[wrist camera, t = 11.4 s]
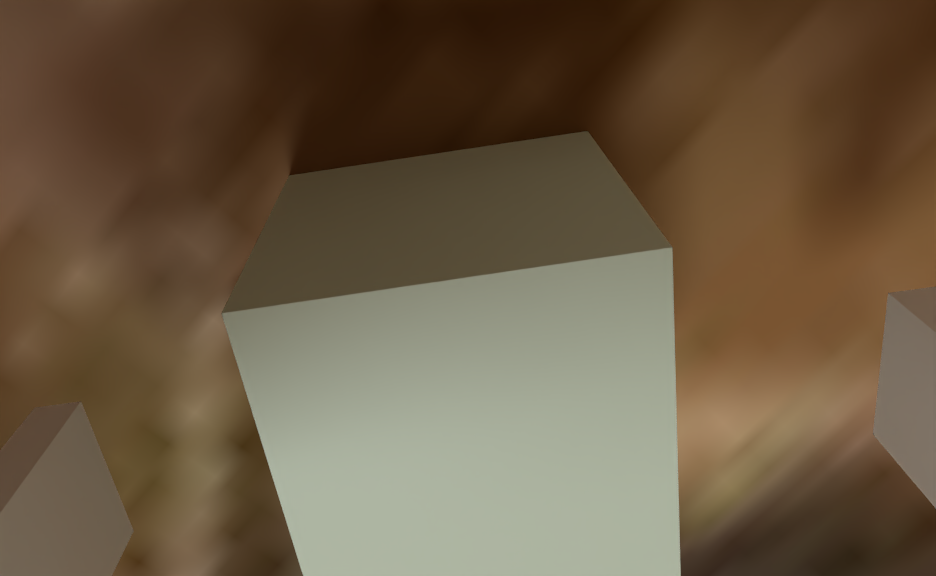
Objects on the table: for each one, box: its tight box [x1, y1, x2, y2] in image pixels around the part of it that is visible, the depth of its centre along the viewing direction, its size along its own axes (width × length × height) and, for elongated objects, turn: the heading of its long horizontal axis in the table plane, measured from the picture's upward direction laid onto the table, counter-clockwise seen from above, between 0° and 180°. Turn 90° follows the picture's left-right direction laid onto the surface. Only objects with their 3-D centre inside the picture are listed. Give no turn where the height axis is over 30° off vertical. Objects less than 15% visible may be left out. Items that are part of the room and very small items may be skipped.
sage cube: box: [222, 131, 681, 576], centre depth 14 cm, size 6×6×6 cm
